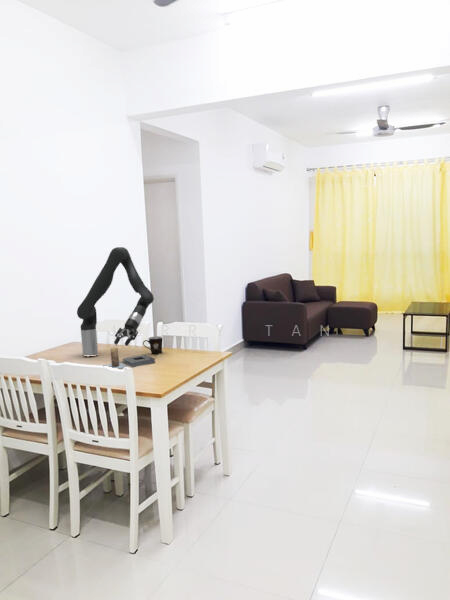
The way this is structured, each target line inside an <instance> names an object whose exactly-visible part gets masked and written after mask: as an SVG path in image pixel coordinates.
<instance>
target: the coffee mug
mask: <svg viewBox="0 0 450 600" xmlns="http://www.w3.org/2000/svg"><path fill="white" fill-rule="evenodd" d="M145 342H148V344H149V346H147V345H145V344H144V343H145ZM142 345H143V346H144V348H146V349H149V351H150V353H151V355H154V356H155V355H161V354H162V352H163V336H159V335H158V336H156V335H155V336H150V337H148V340H147V339H146V340H143V341H142Z"/></svg>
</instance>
